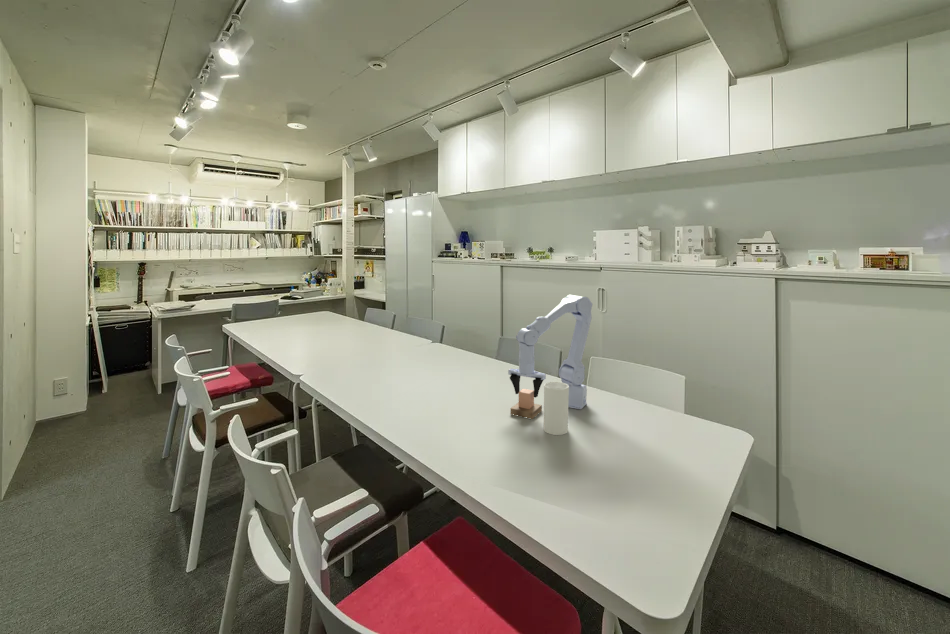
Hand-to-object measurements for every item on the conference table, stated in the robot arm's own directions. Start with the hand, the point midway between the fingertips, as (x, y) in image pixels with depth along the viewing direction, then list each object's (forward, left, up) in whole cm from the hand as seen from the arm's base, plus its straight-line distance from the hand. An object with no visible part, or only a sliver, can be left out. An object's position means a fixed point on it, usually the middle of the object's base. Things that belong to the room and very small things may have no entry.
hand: (526, 395), depth 154 cm
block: (0, 0, -5) cm, 5 cm away
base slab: (0, 0, -8) cm, 8 cm away
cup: (-15, +9, -7) cm, 19 cm away
